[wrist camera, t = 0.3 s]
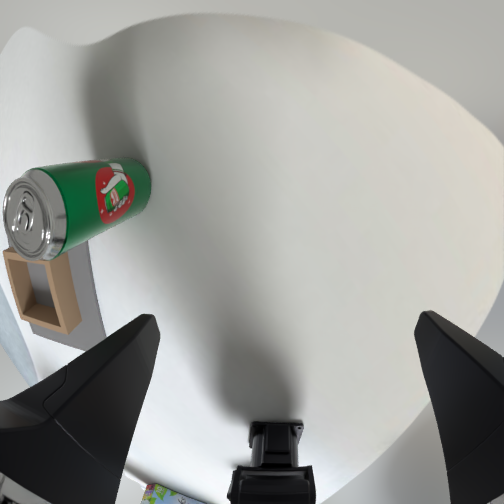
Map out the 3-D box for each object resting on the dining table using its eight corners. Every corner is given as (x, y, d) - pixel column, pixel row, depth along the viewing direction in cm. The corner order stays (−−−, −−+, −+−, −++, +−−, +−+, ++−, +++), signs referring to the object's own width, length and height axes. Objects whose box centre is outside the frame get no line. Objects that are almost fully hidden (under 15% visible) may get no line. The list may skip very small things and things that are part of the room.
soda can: (96, 198, 22) (-6, 236, 11) (118, 147, 20) (9, 154, 9) (138, 226, 23) (45, 286, 11) (164, 175, 21) (66, 199, 10)
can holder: (111, 355, 28) (98, 373, 25) (34, 331, 29) (21, 344, 26) (83, 199, 22) (61, 206, 19) (5, 203, 23) (-15, 209, 20)
